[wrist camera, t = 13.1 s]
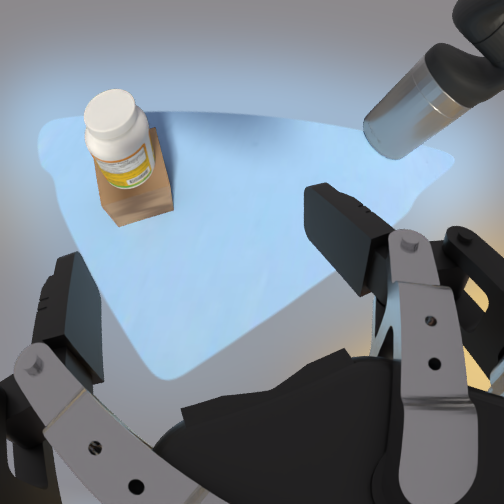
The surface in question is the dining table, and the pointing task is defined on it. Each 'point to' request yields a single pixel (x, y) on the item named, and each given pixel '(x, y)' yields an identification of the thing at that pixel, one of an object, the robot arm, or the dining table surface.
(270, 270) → the dining table surface
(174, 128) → the dining table surface
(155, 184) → the walnut block
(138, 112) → the supplement bottle
